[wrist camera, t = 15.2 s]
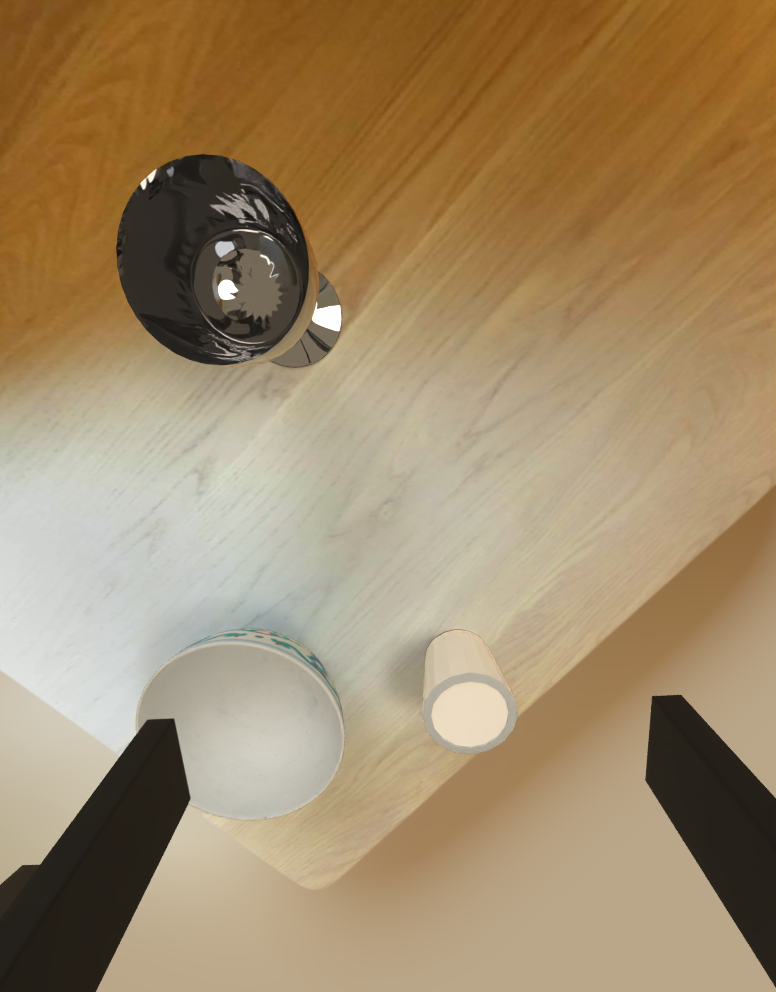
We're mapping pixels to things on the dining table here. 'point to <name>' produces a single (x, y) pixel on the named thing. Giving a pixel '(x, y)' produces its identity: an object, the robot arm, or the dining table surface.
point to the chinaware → (249, 722)
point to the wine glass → (224, 267)
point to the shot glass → (465, 695)
